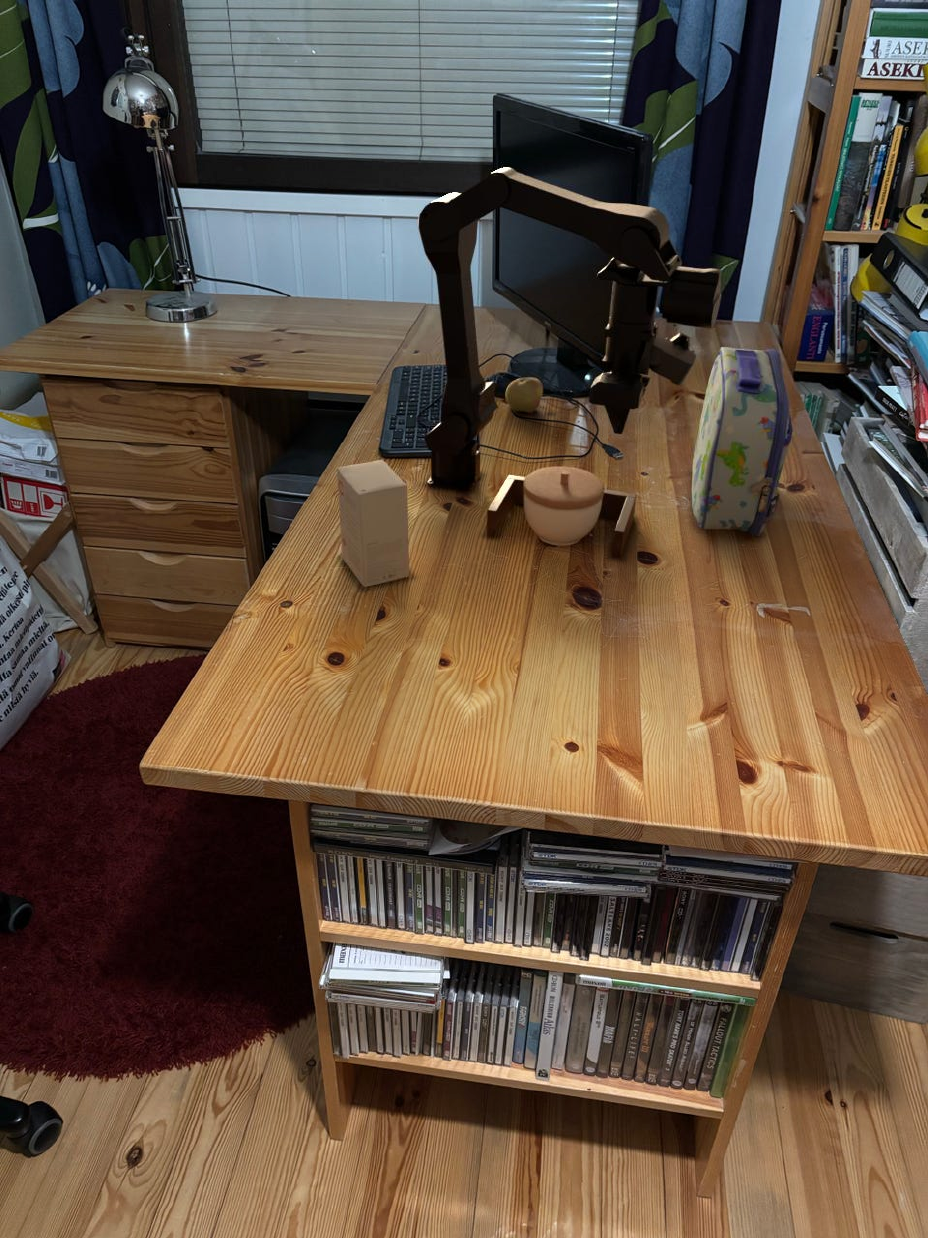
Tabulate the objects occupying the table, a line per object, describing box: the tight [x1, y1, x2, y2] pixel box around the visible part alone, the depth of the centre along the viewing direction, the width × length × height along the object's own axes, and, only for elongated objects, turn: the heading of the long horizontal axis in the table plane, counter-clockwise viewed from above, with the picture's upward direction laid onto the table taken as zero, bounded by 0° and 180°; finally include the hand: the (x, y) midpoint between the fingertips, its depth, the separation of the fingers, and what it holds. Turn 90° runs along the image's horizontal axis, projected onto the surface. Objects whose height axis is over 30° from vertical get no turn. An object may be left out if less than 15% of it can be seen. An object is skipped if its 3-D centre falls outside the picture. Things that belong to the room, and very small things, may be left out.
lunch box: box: [691, 346, 794, 537], centre depth 130 cm, size 26×11×21 cm, turn 169°
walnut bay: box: [486, 474, 637, 559], centre depth 128 cm, size 18×11×4 cm, turn 73°
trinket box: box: [523, 466, 605, 547], centre depth 125 cm, size 11×11×9 cm
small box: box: [336, 459, 410, 588], centre depth 116 cm, size 8×6×13 cm
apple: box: [504, 377, 544, 414], centre depth 162 cm, size 6×8×6 cm
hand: (618, 432), depth 127 cm, fingers closed
